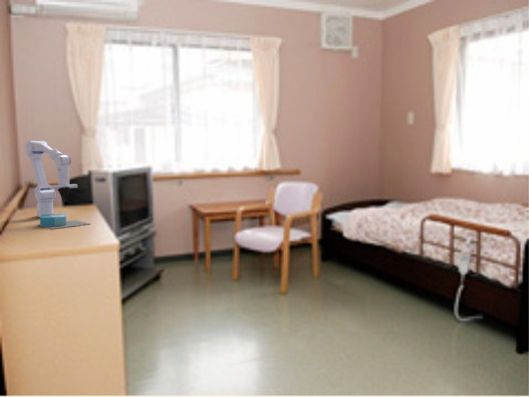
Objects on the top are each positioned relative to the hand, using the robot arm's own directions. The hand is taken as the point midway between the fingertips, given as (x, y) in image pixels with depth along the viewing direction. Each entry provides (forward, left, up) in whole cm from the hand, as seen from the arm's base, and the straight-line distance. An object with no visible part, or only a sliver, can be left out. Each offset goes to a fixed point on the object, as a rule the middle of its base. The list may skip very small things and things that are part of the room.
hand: (64, 201), depth 257 cm
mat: (+17, -9, -10) cm, 22 cm away
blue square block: (+7, -10, -7) cm, 14 cm away
